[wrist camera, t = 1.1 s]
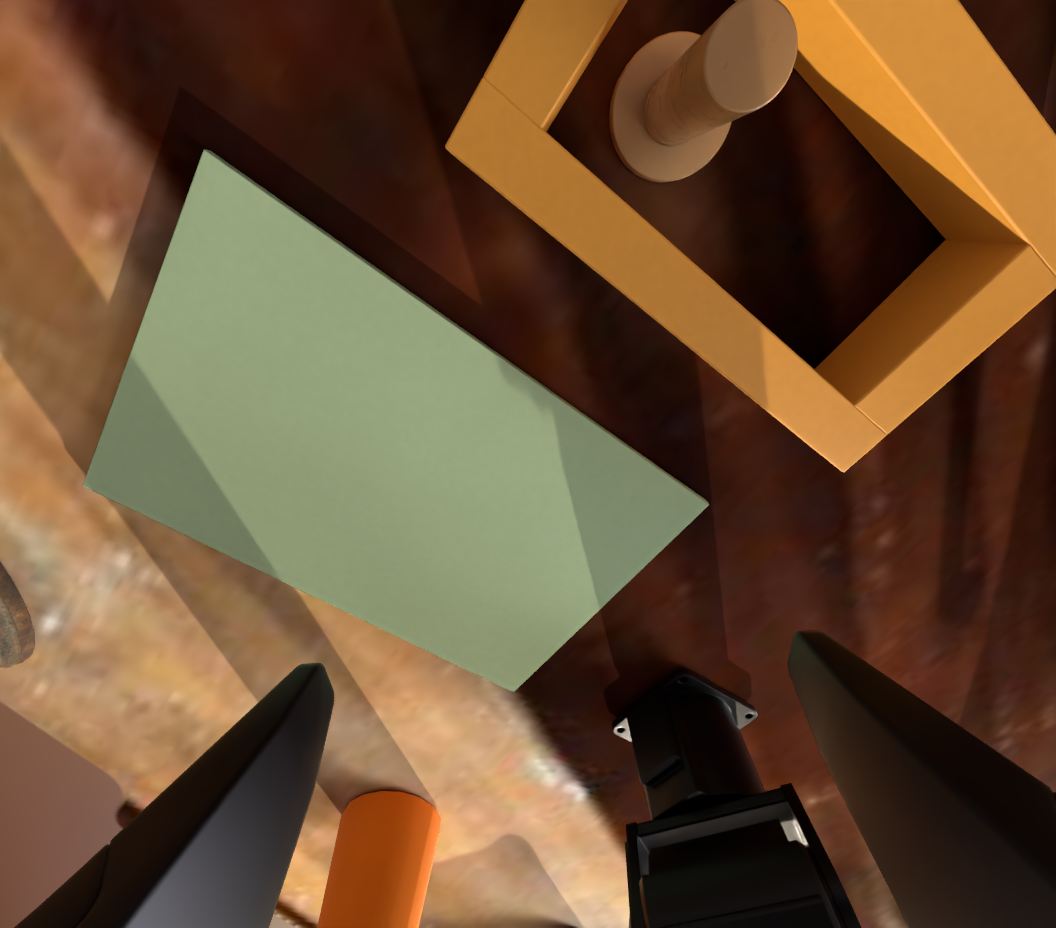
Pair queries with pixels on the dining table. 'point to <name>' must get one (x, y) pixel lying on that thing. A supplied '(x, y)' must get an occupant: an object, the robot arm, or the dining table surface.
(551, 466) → the mat
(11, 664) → the clothes iron
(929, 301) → the rectangular frame
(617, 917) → the dining table surface
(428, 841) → the spray bottle
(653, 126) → the peg stand
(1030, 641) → the dining table surface
